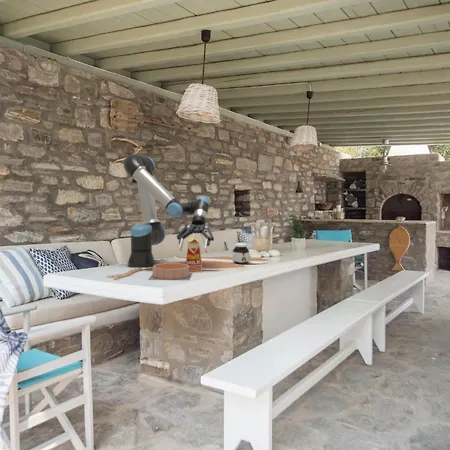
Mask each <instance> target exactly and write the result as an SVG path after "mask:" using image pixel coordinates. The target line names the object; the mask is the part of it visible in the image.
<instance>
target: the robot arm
mask: <svg viewBox="0 0 450 450" xmlns="http://www.w3.org/2000/svg"><path fill="white" fill-rule="evenodd" d="M123 168H124V170H125V172H126V173H127V175H129V176H130V177H131V178H132V179H133V180H135V181H136V184H137V189H138V190H137V191H138V196H139V201H140V202H139V203H140V208H141V214H142V220H143V221H142V222H141V223H140V224H135V225H133V226H131V228H130V255H129V257H128V260H127V266H128V267H129V268H143V269H144V268H153V267H152V266H154V265H156V261H155V258H154V255H153V246H156V245H159V244H162V242H164V241H165V238H166V236H167V235H166V229H165V228H164V226H163V225H162V221H161V220H160V219H158V213H157V207H156V201H155V199H156V200H157V201H158V202H159V203H160V204H161V205H162V206H163V207H164V208H165V209H166V210H167V214H168V215H169V216H170V217H173V218H178V217H179V218H180V217H187V216H192V220H191V224H190V225H189V224H187V223H186V224H185V226H184V227H183V228H182V229H181V231H179V233H178V234H177V235H176V239H177V240H178V244H179V247H178V248H179V251H181V252H182V250H183V245H184V240H185V239H186V238H188V237H189V236H191V235H193V234H201V235H203V237H204V238H205V241H204V248H203V249H204V252H207V251H208V247H209V246H210V244H211V242H213V241H214V240H215V238H214V236H213V232H212V231H211V226H210V224H207V219H208V213H209V209H210V204H211V203H210V199H209V198H208V197H207V196H204V195H202V196H201V195H200V196H199V197H197V199H196V200H195V201H194V200H193V201H189V202H187V201H186V202H179V200H177V198H175V197H174V196H173V194H171V192H169V191H168V189H166V188H165V187H164V186H163V185H162V183H160V182H159V181H158V180H157V179H156V178H155V177H154V171H155V169H156V164H155V162H154V160H153V159H152V158H151V157H149V156H148V155H142V154H137V153H132V154H129V155H127V156H126V157H125V159H124V160H123ZM206 224H207V225H206ZM205 230H207V232H208V234H207V232H206V231H205Z"/></svg>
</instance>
